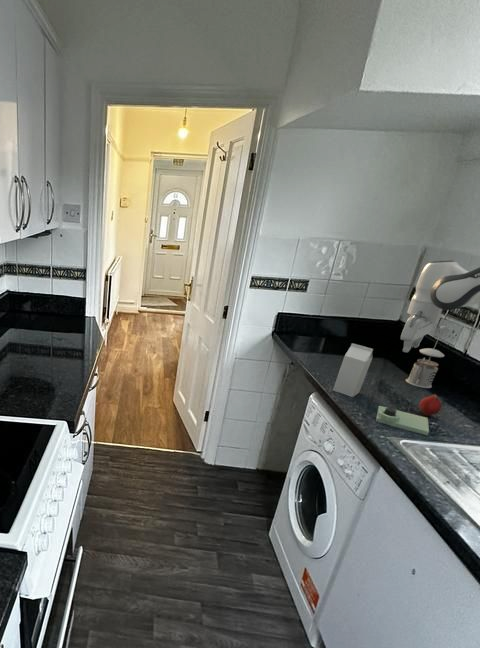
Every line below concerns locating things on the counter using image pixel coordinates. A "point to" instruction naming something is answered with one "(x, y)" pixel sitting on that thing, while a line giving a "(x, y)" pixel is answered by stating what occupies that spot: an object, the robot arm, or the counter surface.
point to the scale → (404, 421)
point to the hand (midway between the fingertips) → (410, 349)
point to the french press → (425, 368)
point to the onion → (430, 405)
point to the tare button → (390, 412)
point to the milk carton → (353, 370)
